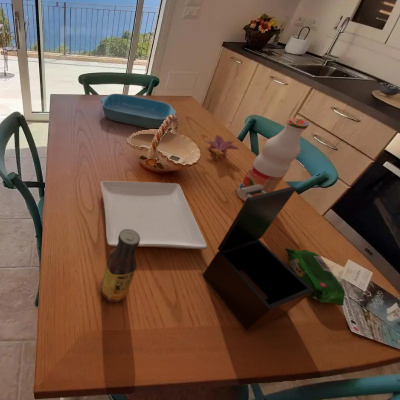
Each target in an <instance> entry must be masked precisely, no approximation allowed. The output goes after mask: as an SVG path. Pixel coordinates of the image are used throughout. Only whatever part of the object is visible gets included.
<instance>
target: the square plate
mask: <svg viewBox="0 0 400 400" xmlns="http://www.w3.org/2000/svg"><path fill="white" fill-rule="evenodd" d="M100 190H101V194H102V201H103V207H104V217H105V235H106V243H107V245H108V246H110V247H117V245H118V237H119V234H120V232H121V231H122V230H124V229H132V230H134V231H136V232H137V233H138V234H139V236H140V242H139V245H138V246H137V248H138V247H139V248H140V247H141V248H146V247H147V248H166V249H167V248H170V249H182V250H183V249H184V250H207V249H208V245H207V242H206V240H205V238H204V235H203V233H202V231H201V229H200V227H199V225H198V222H197V220H196V218H195V216H194V214H193V211H192V210H191V209H192V208H191V207H190V205H189V203H188V201H187V198H186V196H185V193H184V191H183V189H182V187H181V185H180V184H179V183H172V182H154V181H153V182H152V181H123V180H122V181H120V180H119V181H118V180H101V181H100Z"/></svg>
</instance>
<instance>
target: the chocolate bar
mask: <svg viewBox="0 0 400 400" xmlns="http://www.w3.org/2000/svg"><path fill="white" fill-rule="evenodd" d="M239 272H240V273H241V274H242V275H243V276H244V277H245V278H246V279H247V281H248V282H249V283H250V284H251V285H252V286H253V287H254V288H255V289H256V290H257V292H258V293H259V294H260V295H261V296H262V297H263V298H264V299H265V300H267V299H268V297H267V296H266V295H265V293H264V292H263V291H262V290H261V289H260V288H259V287H258V286H257V285H256V284H255V283H254V282H253V281H252V280H251V279H250V278H249V276H248V275H247V274H246V273H245V272H244V271H243V270H240V271H239Z"/></svg>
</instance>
